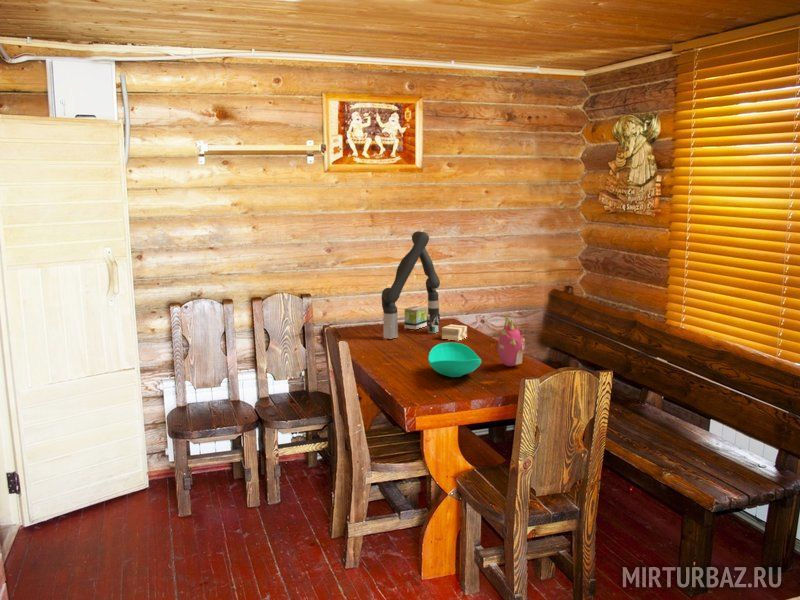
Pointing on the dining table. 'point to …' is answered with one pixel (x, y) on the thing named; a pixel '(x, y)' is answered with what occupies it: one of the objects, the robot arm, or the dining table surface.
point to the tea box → (415, 317)
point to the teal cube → (435, 329)
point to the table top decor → (453, 359)
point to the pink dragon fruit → (511, 344)
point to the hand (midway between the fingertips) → (433, 330)
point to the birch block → (454, 332)
